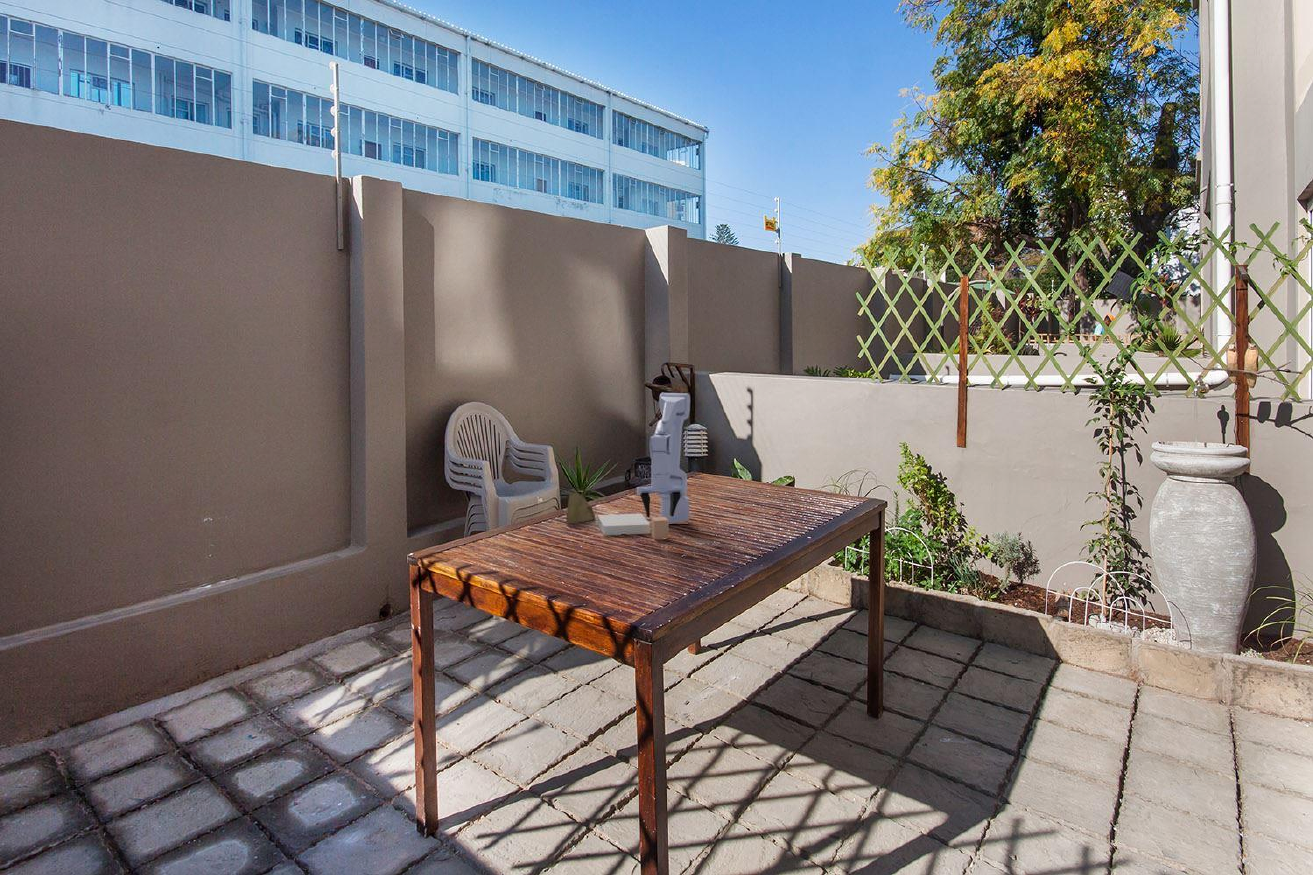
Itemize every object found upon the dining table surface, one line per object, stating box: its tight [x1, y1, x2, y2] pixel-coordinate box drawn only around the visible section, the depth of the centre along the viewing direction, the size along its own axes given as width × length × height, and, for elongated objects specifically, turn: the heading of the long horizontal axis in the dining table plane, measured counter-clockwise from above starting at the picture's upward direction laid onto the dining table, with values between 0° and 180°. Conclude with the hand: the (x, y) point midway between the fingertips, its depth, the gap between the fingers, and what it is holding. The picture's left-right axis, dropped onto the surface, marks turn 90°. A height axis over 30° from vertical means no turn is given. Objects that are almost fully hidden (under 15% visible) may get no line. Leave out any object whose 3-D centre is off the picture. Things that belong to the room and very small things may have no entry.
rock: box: [565, 492, 596, 525], centre depth 248 cm, size 11×9×10 cm
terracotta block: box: [650, 516, 670, 540], centre depth 229 cm, size 4×4×6 cm
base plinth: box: [596, 513, 651, 536], centre depth 239 cm, size 15×15×3 cm
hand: (659, 516), depth 229 cm, fingers open, 7 cm apart
